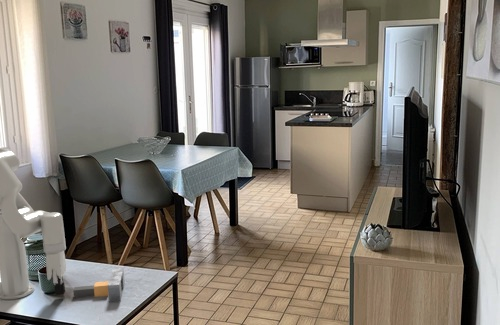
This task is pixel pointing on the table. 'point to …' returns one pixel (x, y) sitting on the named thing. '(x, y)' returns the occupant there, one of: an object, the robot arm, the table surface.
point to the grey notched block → (116, 284)
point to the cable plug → (92, 290)
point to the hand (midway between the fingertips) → (60, 293)
